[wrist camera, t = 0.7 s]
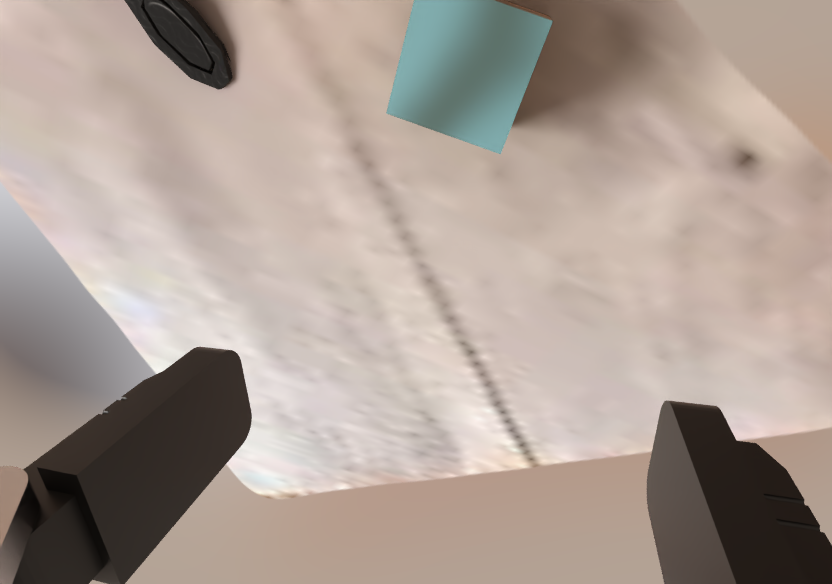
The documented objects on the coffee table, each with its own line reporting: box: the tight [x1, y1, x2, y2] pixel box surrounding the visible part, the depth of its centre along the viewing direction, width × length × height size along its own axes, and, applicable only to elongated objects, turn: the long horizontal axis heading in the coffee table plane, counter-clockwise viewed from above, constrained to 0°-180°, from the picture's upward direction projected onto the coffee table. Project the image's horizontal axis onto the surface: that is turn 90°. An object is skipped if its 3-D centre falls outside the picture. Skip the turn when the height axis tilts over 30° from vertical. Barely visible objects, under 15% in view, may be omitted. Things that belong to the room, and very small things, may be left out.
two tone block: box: [387, 0, 553, 154], centre depth 25 cm, size 6×6×6 cm
